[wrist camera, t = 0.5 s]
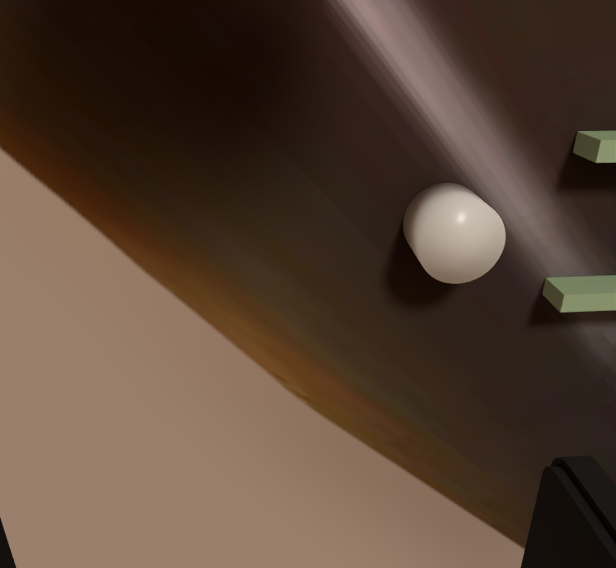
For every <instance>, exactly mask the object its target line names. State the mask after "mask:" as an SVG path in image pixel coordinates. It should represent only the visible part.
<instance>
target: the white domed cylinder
mask: <svg viewBox="0 0 616 568" xmlns="http://www.w3.org/2000/svg"><path fill="white" fill-rule="evenodd" d="M403 232H404V236H405V238H406V241H407V242H408V244H409V246H410V247H411V249H412V250H413V252H414V254H415V255H416V257H417V258H418V260H419V261H420V263H421V265H422V266H423V268H424V269H425V270H426V272H427V273H428V274H429V275H431V276H432V277H433V278H435V279H437V280H439V281H442V282H445V283H451V284H458V283H465V282H469V281H472V280H474V279H476V278H479V277H480V276H482V275H484V274H485V273H486V272H488V271H489V270H490V269H491V268H492V267H493V266H494V264H495V263H496V262H497V260H498V259H499V257H500V255H501V253H502V251H503V248H504V244H505V228H504V224H503V222H502V220H501V218H500V216H499V215H498V214H497V213H496V212H495V211H494V210H493V209H492V208H491V207H490V206H488V205H487V204H486V203H485V202H484V201H482V200H481V199H480V198H479V197H478V196H476V195H475V194H474V193H473V192H472V191H470V190H469V189H468V188H466V187H464V186H462V185H459V184H456V183H440V184H436V185H433V186H430V187H428V188H426V189H425V190H423V191H421V192H420V193H419V194H418V195H417V196H416V197H415V198H414V199H413V200H412V201H411V203H410V204H409V206H408V208H407V210H406V212H405V215H404V220H403Z"/></svg>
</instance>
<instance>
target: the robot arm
mask: <svg viewBox="0 0 616 568" xmlns="http://www.w3.org/2000/svg"><path fill="white" fill-rule="evenodd" d="M0 568H16V566H15V563H14V559H13V557H12V553H11V550H10V547H9V544H8V541H7V537H6V535H5V531H4V528H3V525H2V522H1V518H0ZM521 568H616V485H615V484H614V483H613V481H612V480H611V479H610V477H609V476H608V475H607V474H606V472H605V471H604V470H603V469H602V467H601V466H600V465H599V464H598V462H597V461H596V460H595V459H594V458H592V457H590V456H578V457H559V458H555V459H554V460H553V461H552V464H551V467H546V468H545V469H544V470H543V473H542V478H541V482H540V486H539V491H538V495H537V499H536V504H535V508H534V512H533V517H532V521H531V525H530V530H529V534H528V538H527V543H526V547H525V551H524V556H523V560H522V565H521Z"/></svg>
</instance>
